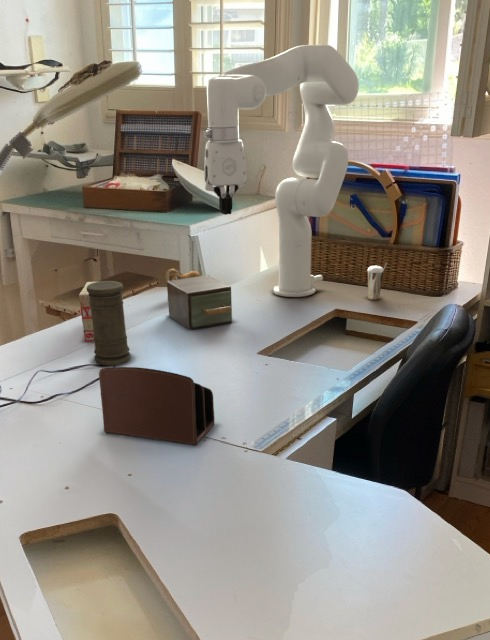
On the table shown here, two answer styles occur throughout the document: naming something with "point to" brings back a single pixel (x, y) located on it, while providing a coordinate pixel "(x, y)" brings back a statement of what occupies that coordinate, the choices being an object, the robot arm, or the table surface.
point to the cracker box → (86, 314)
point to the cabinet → (188, 287)
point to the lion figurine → (180, 275)
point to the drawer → (211, 308)
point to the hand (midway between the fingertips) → (226, 213)
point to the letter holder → (155, 405)
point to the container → (108, 323)
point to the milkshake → (374, 281)
